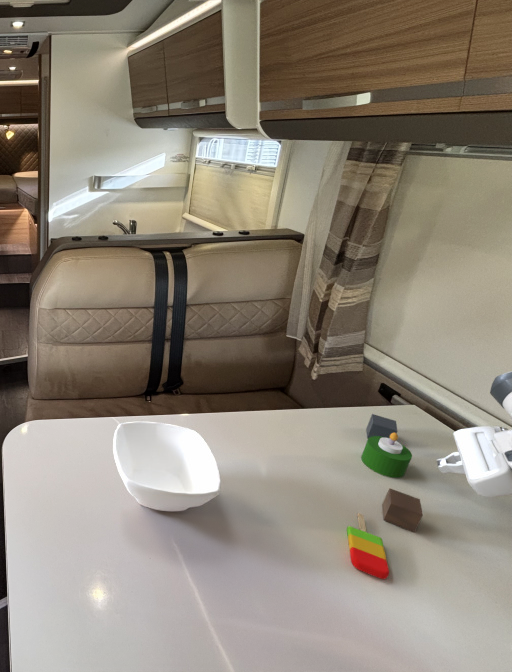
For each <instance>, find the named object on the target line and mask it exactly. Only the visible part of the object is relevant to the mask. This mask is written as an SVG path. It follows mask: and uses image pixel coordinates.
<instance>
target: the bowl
mask: <svg viewBox="0 0 512 672" xmlns="http://www.w3.org/2000/svg"><path fill="white" fill-rule="evenodd" d="M112 443H113V444H112V452H113V458H114V462H115V465H116V468H117V472H118V474H119V476H120V478H121V480H122V481H123V484H124V487H125V488H126V490H127V491H128V493H129V494H130V496H132V497H133V498H135V500H136V502H137V503H138V504H139V505H141V506H143V507H146V508H149V509H152V510H156V511H162V512H183V511H186V510H187V509H189V508H196V507H201V506H203V505H205V504H206V503H208V502H209V501H211V500H212V499H214V498H216V497H217V496H219V494H220V492H221V487H222V481H221V475H220V469H219V466H218V462H217V460H216V458H215V456H214V454H213V451H212V450H211V448H210V446H209V444H208V443H207V441H206V440H205V439H204V438H203V437H202V436H201V434H200V433H199V432H198V431H196V430H195V429H194V430H193V429H191V428H188V427H185V426H182V425H176V424H170V423H165V422H164V423H163V422H157V421H142V420H141V421H139V420H138V421H126V422H120V423H119V424H118V425H117V427H116V429H115V431H114V434H113V441H112Z"/></svg>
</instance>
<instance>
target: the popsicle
mask: <svg viewBox="0 0 512 672" xmlns="http://www.w3.org/2000/svg"><path fill="white" fill-rule="evenodd" d="M357 521H358V527H359V529H358V528H356V527H353V526H350V525H348V526H347V528H346V535H347V541H348V548H349V556H350V562H351V564H352V565H353V567H354V568H356V569H357V570H359V571H361V572H362V573H366V574H368V575H371V576H373V577H376V578H378V579H381V580H385V579H387V578H388V577H389V575H390V569H389V564H388V560H387V556H386V551H385V547H384V541H383V538H382V537H380V536H378V535H375V534H373V533H370V532H367V528H366V523H365V517H364V515H363V514H362V513H360V512H358V513H357Z"/></svg>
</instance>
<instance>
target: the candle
mask: <svg viewBox="0 0 512 672" xmlns="http://www.w3.org/2000/svg"><path fill="white" fill-rule="evenodd" d="M398 439H399V434H398V433H397V434H396V433H392V434H391V435H390V438H386V437H381V436H372V437H369V438H368V439H367V440H366V443H365V446H364V447H363V451H362V454H361V456H360V458H361V461H362V464H364V465H365V466H366V467H367V468H368V469H370V470H371V471H373V472H375V473H376V474H379V475H382V476H384V477H387V478H392V479H400V478H403V477H404V476H405V474H406V472H407V470H408V467H409V465H410V463H411V460H412V458H413V453H412V451H410V449H409V448H407V447H406V446H405V445H404V444H403V443H400V442H398Z"/></svg>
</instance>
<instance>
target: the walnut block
mask: <svg viewBox="0 0 512 672" xmlns="http://www.w3.org/2000/svg"><path fill="white" fill-rule="evenodd" d="M381 506H382V518H383V521H385V522H387V523H389V524H392V525H394V526H397V527H399V528H402V529H404V530H407V531H409V532H412V533H415V532H416V531H417V528H418V527H419V524H420V522H421V520H422V518H423V517H424V515H423V509H422V503H421V499H420V498H418V497H415V496H413V495H410V494H408V493H407V494H406V493H404V492H401V491H398V490H396V489H393V488H388V490H387V492H386V495H385V497H384V499H383V502H382V504H381Z"/></svg>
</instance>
